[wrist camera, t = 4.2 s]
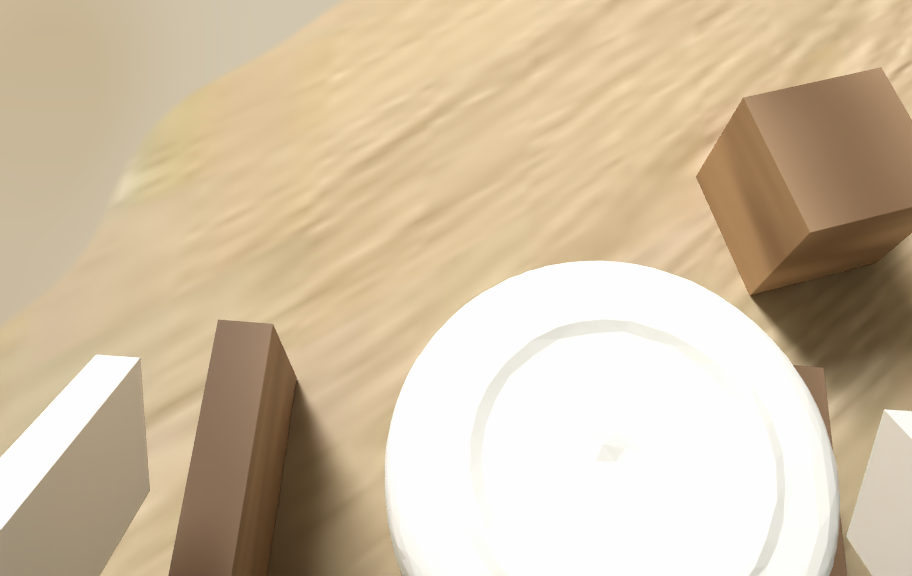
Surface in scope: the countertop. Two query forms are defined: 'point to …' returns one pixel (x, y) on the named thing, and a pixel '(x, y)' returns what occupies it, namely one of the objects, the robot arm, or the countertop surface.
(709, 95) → the countertop surface
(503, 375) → the spice jar
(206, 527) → the cubby
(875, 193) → the walnut cube
